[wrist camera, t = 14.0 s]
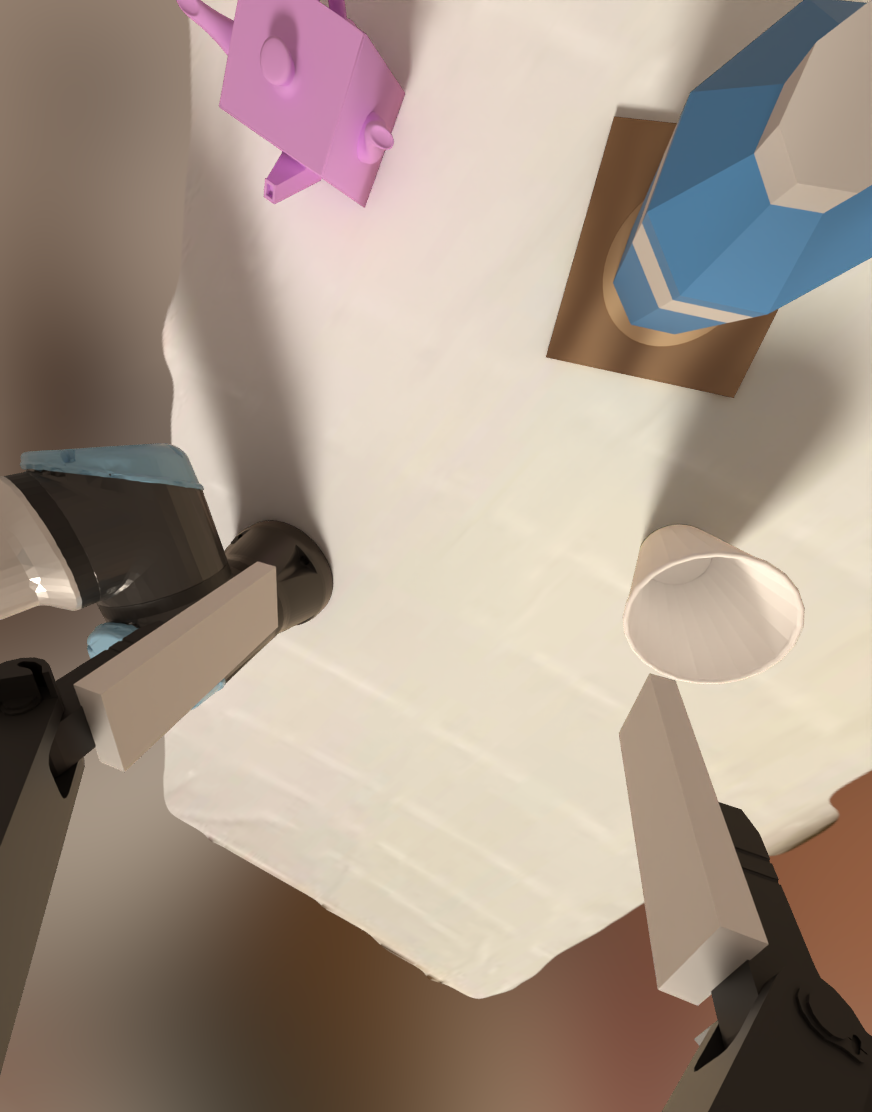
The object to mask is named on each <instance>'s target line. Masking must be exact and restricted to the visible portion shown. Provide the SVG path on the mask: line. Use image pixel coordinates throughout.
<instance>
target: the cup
mask: <svg viewBox="0 0 872 1112" xmlns="http://www.w3.org/2000/svg"><path fill="white" fill-rule="evenodd" d="M804 610H805V608H804V605H803V602H802V599H801V596H800V593H799V590H798V588H797V587H796V586H795V585H794V584H793V582H792V581H791V580H790V579H789V577H788V576H787V575H786V574H785V573H784V572H782V571H781V570H779V569H778V568H776V567H775V566H773V565H772V564H770V563H769V562H767V561H765V560H762V559H759V558H756V557H754V556H752V555H750V554H748V553H746V552H744V551H742V550H740V549H738V548H736V547H734V546H732V545H730V544H728V543H726V542H724V541H722V540H720V539H718V538H716V537H714V536H712V535H710V534H708V533H706V532H704V531H702V530H700V529H698V528H696V527H693V526H690V525H681V524H677V525H669V526H666V527H663V528H660V529H658V530H656V531H655V532H653V533H651V534H650V535H649V536H648V537H647V538H646V539H645V540H644V542H643V544H642V545H641V547H640V550H639V555H638V559H637V563H636V568H635V572H634V576H633V581H632V585H631V589H630V594H629V597H628V599H627V601H626V605H625V609H624V614H623V625H624V634H625V636H626V638H627V640H628V642H629V645H630V647H631V649H632V650H633V651H634V652H635V653H636V654H637V656H638V657H639V658H640V659H641V660H642V661H643V662H644V663H645V664H647V665H648V666H650V667H651V668H653V669H654V670H656V671H657V672H659V673H661V674H664V675H666V676H669V677H671V678H674V679H676V680H680V681H686V682H691V683H697V684H722V683H728V682H733V681H739V680H744V679H746V678H749V677H751V676H754V675H756V674H759V673H761V672H764V671H766V670H767V669H769V668H770V667H772V666H773V665H775V664H776V663H778V662H779V661H781V660H782V659H783V658H784V657H785V656H786V654H787V653H788V652H789V651H790V650H791V649H792V648H793V647H794V646H795V644H796V642H797V640H798V638H799V636H800V633H801V631H802V629H803V626H804Z"/></svg>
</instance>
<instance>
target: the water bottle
mask: <svg viewBox="0 0 872 1112" xmlns="http://www.w3.org/2000/svg"><path fill="white" fill-rule="evenodd" d="M870 258H872V0H870V1H869V2H868V3H862V2H852V1H841V0H803V1H802V2H801V3H799V4H798V5H797V6H796V7H795V8H793V9H792V10H791V11H790V12H788V13H787V14H786V15H785V16H783V17H782V18H781V19H780V20H779V21H777V22H776V23H775V24H774V25H772V26H771V27H770V28H769V29H768V30H766V31H765V32H764V33H763V34H761V35H760V36H759V37H758V38H756V39H755V40H754V41H753V42H752V43H750V44H749V45H748V46H747V47H745V48H744V49H743V50H742V51H740V52H739V53H738V54H737V55H736V56H734V57H733V58H732V59H731V60H729V61H728V62H727V63H726V64H725V65H723V66H722V67H721V68H720V69H718V70H717V71H716V72H715V73H713V74H712V75H711V76H710V77H709V78H707V79H706V80H705V81H704V82H702V83H701V84H700V85H699V86H698V87H696V88H695V89H694V90H693V91H691V92H690V95H689V97H688V99H687V102H686V104H685V106H684V109H683V111H682V113H681V116H680V118H679V120H678V123H677V125H676V127H675V130H674V132H673V134H672V137H671V139H670V141H669V144H668V146H667V148H666V151H665V153H664V155H663V158H662V160H661V162H660V165H659V167H658V169H657V172H656V174H655V176H654V179H653V181H652V183H651V185H650V188H649V190H648V192H647V195H646V197H645V199H644V202H643V204H642V206H641V209H640V211H639V213H638V216H637V218H636V220H635V223H634V225H633V227H632V230H631V233H630V236H629V238H628V241H627V244H626V247H625V250H624V253H623V255H622V258H621V261H620V264H619V267H618V270H617V272H616V275H615V278H614V281H613V284H614V287H615V289H616V291H617V294H618V296H619V298H620V301H621V303H622V305H623V308H624V310H625V312H626V315H627V317H628V319H629V322H630V324H631V325H635V326H639V327H644V328H648V329H653V330H657V331H661V332H666V333H670V334H679V333H684V332H688V331H693V330H698V329H702V328H707V327H711V326H716V325H721V324H725V323H730V322H734V321H739V320H744V319H748V318H753V317H757V316H762V315H767V314H769V313H771V312H773V311H775V310H777V309H778V308H780V307H782V306H784V305H786V304H788V303H789V302H791V301H793V300H795V299H797V298H799V297H800V296H802V295H804V294H806V293H808V292H809V291H811V290H813V289H815V288H817V287H819V286H820V285H822V284H824V283H826V282H828V281H830V280H831V279H833V278H835V277H837V276H839V275H841V274H842V273H844V272H846V271H848V270H850V269H851V268H853V267H855V266H857V265H859V264H861V263H862V262H864V261H866V260H868V259H870Z"/></svg>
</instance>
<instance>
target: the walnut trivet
mask: <svg viewBox="0 0 872 1112" xmlns="http://www.w3.org/2000/svg"><path fill="white" fill-rule="evenodd" d="M676 125H677V123H668V122H659V121H650V120H641V119H632V118H623V117H614V119H613V123H612V126H611V130H610V133H609V137H608V140H607V144H606V147H605V151H604V154H603V158H602V161H601V165H600V169H599V172H598V176H597V179H596V183H595V186H594V190H593V193H592V197H591V200H590V204H589V207H588V211H587V214H586V218H585V221H584V225H583V228H582V232H581V235H580V239H579V242H578V246H577V249H576V253H575V256H574V260H573V263H572V267H571V271H570V274H569V278H568V281H567V285H566V288H565V292H564V295H563V299H562V302H561V306H560V309H559V313H558V316H557V320H556V323H555V327H554V330H553V334H552V337H551V341H550V344H549V348H548V351H547V355H546V357H548V358H552V359H557V360H562V361H566V362H571V363H575V364H580V365H585V366H589V367H594V368H598V369H603V370H608V371H612V372H617V373H621V374H626V375H631V376H635V377H640V378H645V379H649V380H654V381H658V382H663V383H668V384H672V385H677V386H681V387H686V388H691V389H695V390H700V391H705V392H709V393H714V394H718V395H723V396H728V397H732V398H734V396H735V394H736V392H737V390H738V388H739V386H740V384H741V382H742V380H743V378H744V376H745V374H746V372H747V370H748V368H749V366H750V365H751V363H752V361H753V359H754V357H755V355H756V353H757V351H758V349H759V347H760V345H761V343H762V341H763V339H764V337H765V335H766V333H767V331H768V329H769V327H770V325H771V323H772V321H773V319H774V317H775V315H776V313H777V311H778V309H779V308H778V309H777V310H775V311H773V312H771V313H769V314H767V315H762V316H757V317H753V318H748V319H744V320H739V321H734V322H730V323H725V324H721V325H716V326H711V327H707V328H702V329H698V330H693V331H688V332H684V333H679V334H670V333H666V332H661V331H657V330H653V329H648V328H644V327H639V326H635V325H631V324H630V322H629V319H628V317H627V315H626V312H625V310H624V308H623V305H622V303H621V301H620V298H619V296H618V294H617V291H616V289H615V287H614V284H613V281H614V278H615V275H616V272H617V270H618V267H619V264H620V261H621V258H622V255H623V253H624V250H625V247H626V244H627V241H628V238H629V236H630V233H631V230H632V227H633V225H634V223H635V220H636V218H637V216H638V213H639V211H640V209H641V206H642V204H643V202H644V199H645V197H646V195H647V192H648V190H649V188H650V185H651V183H652V181H653V179H654V176H655V174H656V172H657V169H658V167H659V165H660V162H661V160H662V158H663V155H664V153H665V151H666V148H667V146H668V144H669V141H670V139H671V137H672V134H673V132H674V130H675V127H676Z"/></svg>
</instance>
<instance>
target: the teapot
mask: <svg viewBox="0 0 872 1112" xmlns="http://www.w3.org/2000/svg"><path fill="white" fill-rule="evenodd" d="M176 1H177V3H178V5H179V7H180V8H181V9H182V11H183V12H184V13H185V14H186V15H187V16H188V17H189V18H191V19H192V20H193V21H194V22H196V23H197V24H198V25H199V26H201V27H202V28H203V29H204V30H205V31H206V32H207V33H208V34H209V35H210V36H211V37H212V38H213V39H214V40H215V41H216V42H217V43H218V45H219V46H220V47H221V48H222V49H223V50H224V52H225V53H226V54H227V55H228V58H227V64H226V70H225V76H224V81H223V87H222V93H221V98H220V103H219V107H220V108H221V109H223V110H224V111H225V112H227V113H228V114H230V115H231V116H233V117H234V118H236V119H237V120H238V121H240V122H241V123H243V124H244V125H246V126H247V127H248V128H250V129H251V130H253V131H254V132H256V133H257V134H259V135H260V136H261V137H263V138H264V139H266V140H267V141H269V142H270V143H271V144H273V145H274V146H276V147H277V148H279V149H280V150H282V154H281V156H280V157H279V159H278V161H277V162H276V164H275V166H274V167H273V169H272V171H271V172H270V174H269V176H268V178H265V187H264V197H265V198H266V199H267V200H269V201H270V202H272V203H273V204H276V203H278V202H280V201H282V200H284V199H286V198H288V197H290V196H291V195H293V194H295V193H297V192H299V191H301V190H303V189H305V188H307V187H309V186H311V185H313V184H315V183H317V182H319V181H321V178H322V179H324V180H325V181H326V182H328V183H329V184H331V185H332V186H334V187H335V188H337V189H338V190H340V191H341V192H342V193H344V194H345V195H347V196H348V197H350V198H351V199H353V200H354V201H356V202H357V203H358V204H360V205H361V206H363V207H364V208H365V205H366V203H367V200H368V197H369V194H370V191H371V189H372V186H373V183H374V180H375V177H376V174H377V172H378V169H379V166H380V163H381V160H382V158H383V155H384V152H385V149H386V150H387V149H390V148H392V146H393V144H394V140H393V137H392V135H391V132H392V129H393V127H394V124H395V121H396V118H397V115H398V113H399V110H400V107H401V104H402V101H403V98H404V96H405V92H404V91H403V89H402V88H401V86H400V85H399V83H398V82H397V80H396V79H395V77H394V76H393V74H392V73H391V71H390V70H389V68H388V67H387V65H386V63H385V62H384V60H383V59H382V57H381V56H380V54H379V53H378V51H377V50H376V48H375V47H374V45H373V44H372V42H371V41H370V39H369V38H368V36H367V34H366V33H364V32H363V31H361V30H360V29H358V28H357V27H356V25H355V24H354V22H353V21H352V20H350V19H347V17H346V8H345V1H344V0H328V3H329V8H328V7H326V6H325V5H323V4H322V3H321V2H319V1H320V0H238V2H237V8H236V13H235V18H234V21H233V20H231V19H229V18H228V17H226V16H224V15H222V14H220V13H219V12H217V11H215V10H214V9H212V8H211V7H209V6H208V5H206V4H205V3H203V2H202V1H201V0H176Z"/></svg>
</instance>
